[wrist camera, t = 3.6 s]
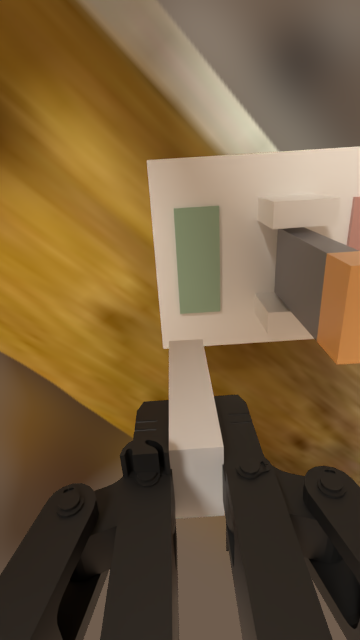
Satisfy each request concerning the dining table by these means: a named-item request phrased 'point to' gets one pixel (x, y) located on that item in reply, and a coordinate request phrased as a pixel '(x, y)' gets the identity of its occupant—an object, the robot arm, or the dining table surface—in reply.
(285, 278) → the breaker lever
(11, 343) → the dining table surface
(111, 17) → the dining table surface
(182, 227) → the box
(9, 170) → the dining table surface
